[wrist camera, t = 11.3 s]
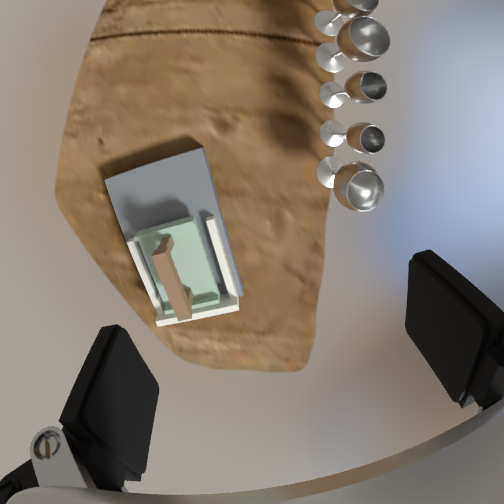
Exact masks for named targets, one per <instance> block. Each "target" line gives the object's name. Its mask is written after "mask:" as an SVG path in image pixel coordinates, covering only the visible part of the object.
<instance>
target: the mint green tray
mask: <svg viewBox="0 0 504 504" xmlns="http://www.w3.org/2000/svg"><path fill="white" fill-rule="evenodd" d="M133 238H134V241H135V242H136V241H139V244H140V247H141V249H142V252H143V254H144V257H145V259H146V262H147V264H148V267H149V269H150V272H151V274H152V277H153V279H154V281H155V284H156V286H157V288H158V291H159V293H160V295H161V298H162V300H163V302H164V304H165V310H164V312H165V315H166V314H171V313H175V315H176V317H177V320H178V321H182V320H187V319H192V313H193V310H192V309H195V308H200V307H205V306H209V305H214V304H219V303H220V292H219V289H218V286H217V283H216V280H215V277H214V274H213V271H212V268H211V265H210V262H209V259H208V256H207V253H206V250H205V247H204V244H203V240H202V237H201V234H200V231H199V228H198V224H197V221H196V218H195V215H194V216H190V217H186V218H183V219H179V220H175V221H172V222H168V223H165V224H161V225H157V226H154V227H150V228H147V229H144V230H140V231H138V232H137V233H136V235H135V236H134V237H133Z"/></svg>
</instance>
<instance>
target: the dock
mask: <svg viewBox="0 0 504 504" xmlns="http://www.w3.org/2000/svg"><path fill="white" fill-rule="evenodd" d="M104 181H105V184H106V187H107V190H108V193H109V196H110V199H111V201H112V204H113V207H114V210H115V213H116V216H117V218H118V221H119V224H120V227H121V229H122V232H123V235H124V237H125V240H126V242H127V245H128V247H129V250H130V252H131V255H132V257H133V260H134V262H135V265H136V267H137V269H138V272H139V274H140V276H141V279H142V281H143V283H144V286H145V288H146V290H147V292H148V295H149V297H150V299H151V301H152V303H153V306H154V308H155V310H156V312H157V314H158V315H157V318H156V321H155V322H156V324H157V326H158V327H159V326H164V325H169V324H175V323H180V322H185V321H190V320H195V319H200V318H205V317H209V316H214V315H219V314H224V313H228V312H233V311H237V310H239V301H238V297H239V296H243V285H242V282H241V278H240V275H239V271H238V268H237V264H236V261H235V257H234V254H233V250H232V247H231V243H230V239H229V236H228V232H227V229H226V225H225V222H224V218H223V214H222V211H221V207H220V204H219V200H218V196H217V193H216V189H215V185H214V182H213V178H212V174H211V171H210V167H209V163H208V160H207V156H206V152H205V148H204V147H200V148H197V149H193V150H190V151H186V152H183V153H179V154H176V155H173V156H170V157H166V158H163V159H160V160H157V161H154V162H151V163H148V164H145V165H142V166H139V167H136V168H133V169H130V170H127V171H125V172H122V173H119V174H116V175H114V176H111V177H109V178H107V179H105V180H104ZM194 215H195V218H196V221H197V224H198V228H199V231H200V234H201V237H202V240H203V244H204V247H205V250H206V253H207V256H208V259H209V262H210V265H211V268H212V271H213V274H214V277H215V280H216V283H217V286H218V289H219V292H220V303H219V304H214V305H209V306H205V307H200V308H195V309H192V310H193V313H192V319H187V320H182V321H178V320H177V317H176V315H175V313H171V314H166V315H165V312H164V310H165V304H164V302H163V300H162V298H161V295H160V293H159V291H158V288H157V286H156V284H155V281H154V279H153V277H152V274H151V272H150V269H149V267H148V264H147V262H146V259H145V257H144V254H143V252H142V249H141V247H140V244H139V241H136V242H135V241H134V238H133V237H134V236H135V235H136V233H137V232H138V231H140V230H144V229H147V228H150V227H154V226H157V225H161V224H165V223H168V222H172V221H175V220H179V219H183V218H186V217H190V216H194Z"/></svg>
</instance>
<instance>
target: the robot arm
mask: <svg viewBox="0 0 504 504" xmlns="http://www.w3.org/2000/svg"><path fill="white" fill-rule="evenodd" d="M405 328H406V331H407V333H408V335H409V336H410V338H411V339H412V341H413V342H414V343H415V345H416V346H417V348H418V349H419V351H420V352H421V354H422V355H423V356H424V358H425V359H426V361H427V362H428V364H429V365H430V367H431V368H432V370H433V371H434V373H435V374H436V376H437V377H438V379H439V380H440V382H441V383H442V385H443V386H444V388H445V390H446V391H447V393H448V394H449V396H450V397H451V399H452V400H453V401H454V402H458V403H459V405H460V406H461V408H464V407H466V406H468V405H470V404H471V403H473V402H475V401H476V402H477V404H478V406H479V408H478V414H477V415H475V416H474V417H472V418H470V419H468V420H467V421H465V422H463V423H461V424H459V425H458V426H455V427H454V428H452V429H450V430H448V431H446V432H444V433H442V434H440V435H438V436H436V437H434V438H432V439H429V440H428V441H425V442H423V443H421V444H419V445H416V446H414V447H412V448H409V449H407V450H404V451H402V452H400V453H397V454H395V455H392V456H389V457H387V458H384V459H382V460H378V461H376V462H373V463H370V464H367V465H364V466H361V467H358V468H354V469H351V470H348V471H344V472H341V473H337V474H334V475H330V476H326V477H322V478H318V479H314V480H309V481H305V482H300V483H295V484H290V485H285V486H279V487H273V488H266V489H260V490H252V491H243V492H233V493H220V494H205V495H204V494H202V495H158V494H140V493H129V492H128V491H127V489H126V488H125V486H124V481H125V480H127V481H141V475H142V473H144V472H145V471H146V465H147V459H148V452H149V446H150V440H151V434H152V428H153V422H154V417H155V411H156V406H157V400H158V395H159V386H158V383H157V381H156V379H155V378H154V376H153V375H152V373H151V371H150V370H149V368H148V366H147V365H146V363H145V362H144V360H143V358H142V357H141V355H140V354H139V352H138V350H137V348H136V346H135V345H134V343H133V341H132V339H131V338H130V336H129V334H128V332H127V331H126V330H125V329H124V328H121V327H120V326H119V325H117V324H116V325H111V326H105V327H102V328H101V329H100V331H99V333H98V335H97V337H96V339H95V341H94V343H93V345H92V347H91V349H90V351H89V353H88V355H87V358H86V360H85V362H84V364H83V366H82V368H81V370H80V372H79V375H78V377H77V379H76V381H75V384H74V386H73V388H72V390H71V393H70V395H69V397H68V400H67V402H66V405H65V407H64V409H63V412H62V414H61V417H60V419H59V422H60V423H61V424H62V425H63V428H62V430H61V429H59V428H58V427H54V426H51V427H46V428H44V429H42V430H41V431H40V432H38V433H37V434H36V436H35V437H34V438H33V440H32V442H31V446H30V455H31V459H30V460H28V461H27V462H25V463H24V464H22V465H21V466H19V467H18V468H17V469H15V470H14V471H12V472H11V473H9V474H8V475H6V476H5V477H4V478H3V479H2V480H1V481H0V504H504V312H503V311H502V310H501V309H500V308H499V307H498V306H496V304H494V303H493V302H492V301H491V300H490V299H489V298H488V297H487V296H485V294H483V293H482V292H481V291H480V290H479V289H478V288H477V287H475V286H474V285H473V284H472V283H471V282H470V281H468V280H467V279H466V278H465V277H464V276H462V275H461V274H460V273H459V272H458V271H457V270H455V269H454V268H453V267H452V266H451V265H449V264H448V263H447V262H446V261H444V260H443V259H442V258H441V257H439V256H438V255H437V254H435V253H434V252H433V251H432V250H425V251H422V252H418V253H415V254H414V255H413V257H412V259H411V260H410V261H409V273H408V293H407V308H406V320H405Z"/></svg>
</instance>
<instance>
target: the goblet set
mask: <svg viewBox="0 0 504 504" xmlns="http://www.w3.org/2000/svg"><path fill="white" fill-rule="evenodd" d="M378 3H379V0H333V5H334V7H335V9H336V11H337V13H334V12H332V11H329V10H323V11H320V12H318V13H317V14H316V15H315V18H314V23H315V26H316V28H317V29H318V30H319V31H320V32H322V33H323V34H325V35H329V36H335V35H337V45H336V44H334V43H323V44H321V45H320V46H319V47H318V48H317V49H316V52H315V58H316V61H317V63H318V65H319V66H320V67H321V68H323V69H324V70H326V71H328V72H338V71H340V70H342V69H343V68H344V67H345V65H346V61H347V59H346V57H347V58H349V59H351V60H353V61H358V62H368V61H373V60H376V59H377V58H379V57H381V56H382V55H383V54H385V53H386V51H387V50H388V49H389V46H390V37H389V34H388V31H387V30H386V28H385V27H384V26H383V25H382V24H381V23H380V22H379V21H377V20H376V19H374V18H371V17H367V16H368V15H369V14H371V13H372V12H373V11H374V10H375V9H376V7H377V6H378ZM340 16H343V17H346V18H349V19H351V20H349V21H347V22H346V23H345V24H344V25H343V21H342V19H341V18H340ZM386 92H387V84H386V81H385V79H384V78H383V77H382V76H381V75H380V74H379V73H377V72H374V71H360V72H356V73H354V74H353V75H351V76H350V77H349V78H348V79H347V80H346V83H345V86H344V89H343V87H342V86H341V85H340V84H338V83H336V82H333V81H329V82H326V83H324V84H323V85H322V86H321V87H320V90H319V96H320V99H321V101H322V102H323V103H324V104H325V105H326V106H328V107H332V108H335V107H339V106H340V105H342V104H343V102H344V100H345V94H346V95H347V96H348V97H349V98H350V99H351V100H353V101H355V102H358V103H362V104H369V103H374V102H376V101H379V100H380V99H382V98H383V97H384V96H385V95H386ZM320 137H321V140H322V141H323V142H324V143H325V144H326V145H328V146H338V145H340V144H341V143H342V142H343V141H344V138H345V137H346V141H347V143H348V145H349V146H350V147H351V148H352V149H353V150H355V151H357V152H359V153H363V154H374V153H378V152H380V151H381V150H382V149H383V147H384V145H385V136H384V133H383V131H382V130H381V129H380V128H379V127H377V126H375V125H373V124H370V123H365V122H360V123H355V124H353V125H352V126H350V127H349V128H348V130H347V131H346V133H345V129H344V127H343V125H342V124H341V123H340V122H338V121H336V120H328V121H326V122H324V123H323V124H322V126H321V128H320ZM317 178H318V180H319V182H320V183H321V184H322V185H324V186H325V187H328V188H333V190H334V193H335V196H336V198H337V200H338V201H339V202H340V203H341V204H342V205H343V206H344V207H346V208H348V209H350V210H353V211H369V210H372V209H374V208H375V207H377V206H378V204H380V202H381V201H382V198H383V195H384V183H383V180H382V179H381V177H380V175H379V173H378V172H377V171H376V170H375V169H374V168H373V167H372V166H370V165H369V164H367V163H364V162H360V161H354V162H349V163H346V164H345V163H344V162H343V161H342V160H341V159H340V158H338V157H335V156H329V157H326V158H324V159H323V160H322V161H321V162H320V163H319V165H318V167H317Z"/></svg>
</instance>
